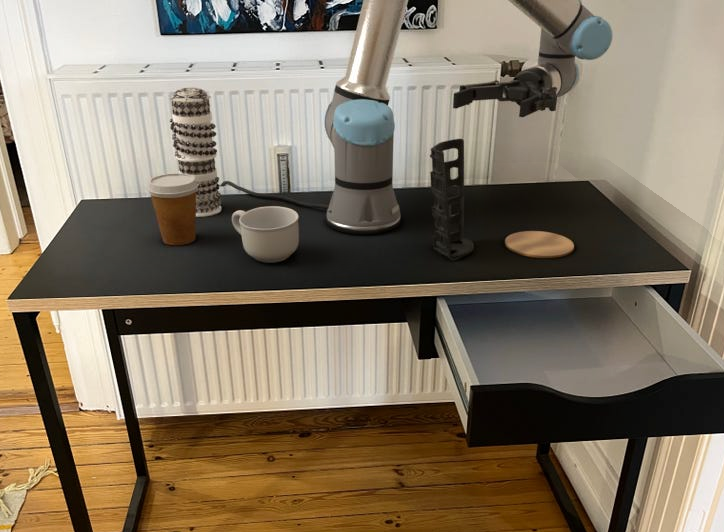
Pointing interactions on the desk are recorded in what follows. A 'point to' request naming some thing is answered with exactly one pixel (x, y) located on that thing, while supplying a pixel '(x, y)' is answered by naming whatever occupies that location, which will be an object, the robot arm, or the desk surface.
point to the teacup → (268, 232)
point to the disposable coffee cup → (175, 206)
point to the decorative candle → (196, 146)
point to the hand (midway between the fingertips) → (487, 105)
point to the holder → (448, 200)
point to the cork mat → (539, 244)
